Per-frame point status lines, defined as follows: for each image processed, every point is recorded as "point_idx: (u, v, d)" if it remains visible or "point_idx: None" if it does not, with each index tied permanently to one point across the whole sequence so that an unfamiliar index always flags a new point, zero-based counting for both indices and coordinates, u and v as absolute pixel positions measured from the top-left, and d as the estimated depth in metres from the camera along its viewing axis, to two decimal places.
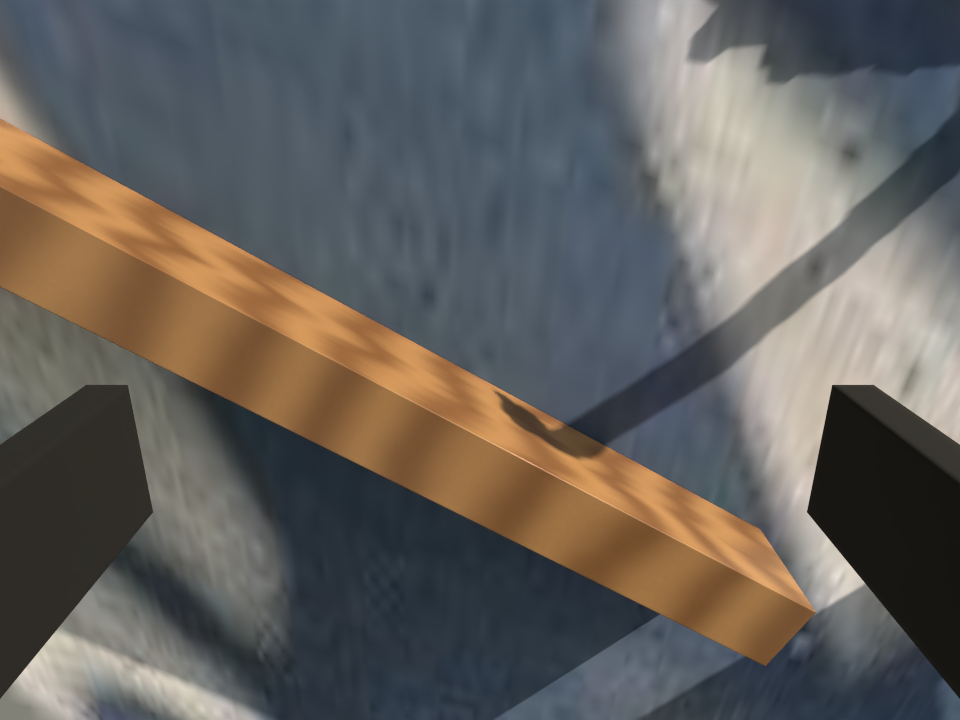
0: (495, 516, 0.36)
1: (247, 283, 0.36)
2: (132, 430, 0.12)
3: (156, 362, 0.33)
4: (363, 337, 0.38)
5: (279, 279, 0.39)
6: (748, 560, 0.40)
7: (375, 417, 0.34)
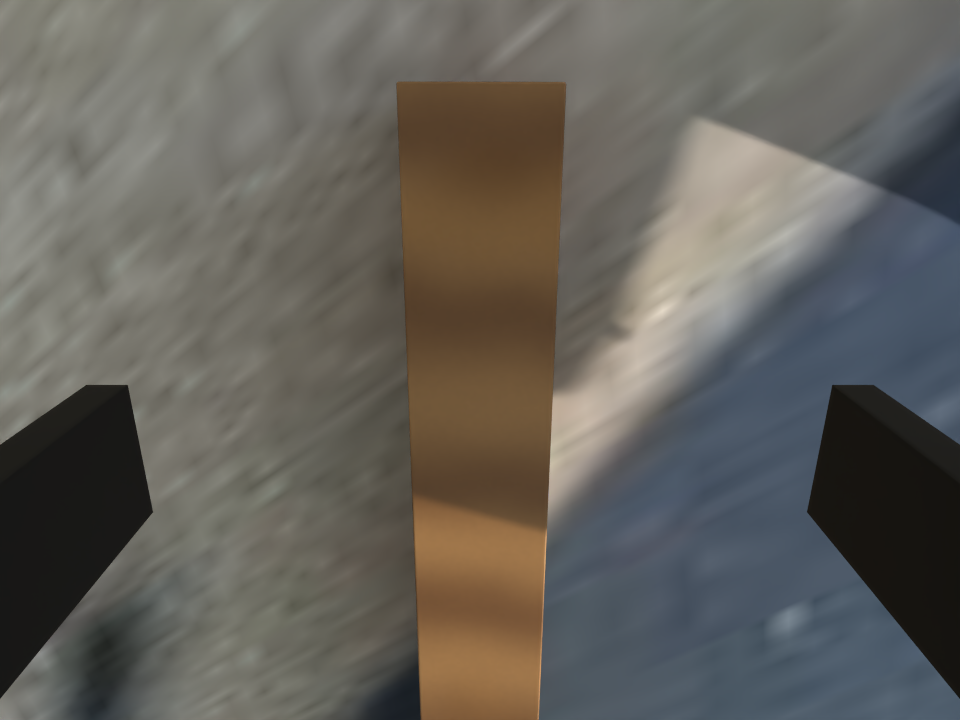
0: None
1: None
2: (131, 430, 0.12)
3: None
4: None
5: None
6: None
7: None
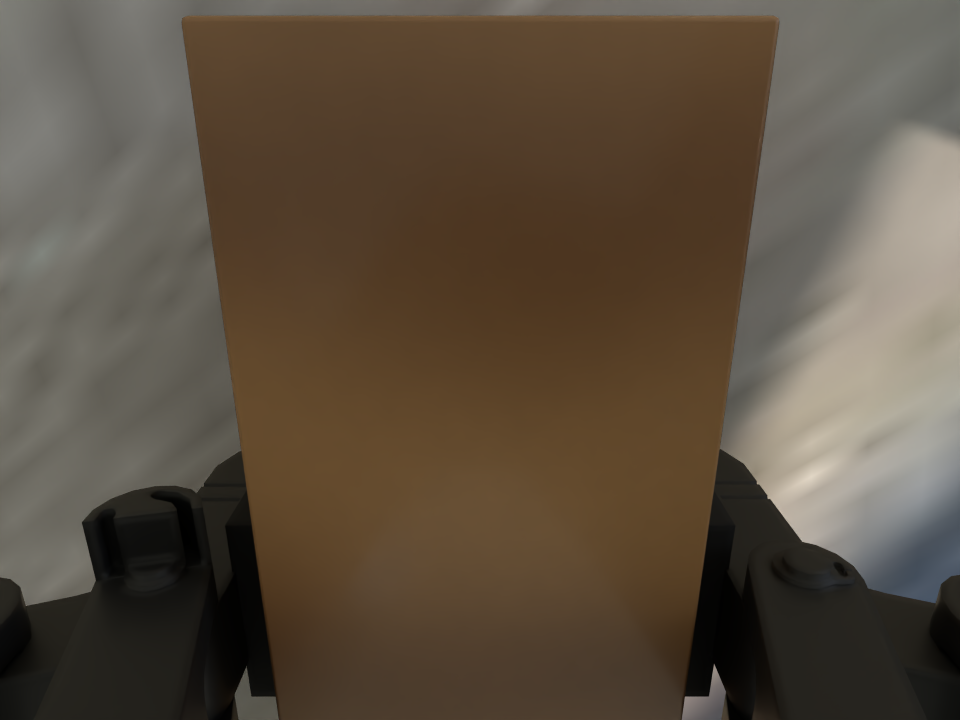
0: None
1: None
2: None
3: None
4: None
5: None
6: None
7: None
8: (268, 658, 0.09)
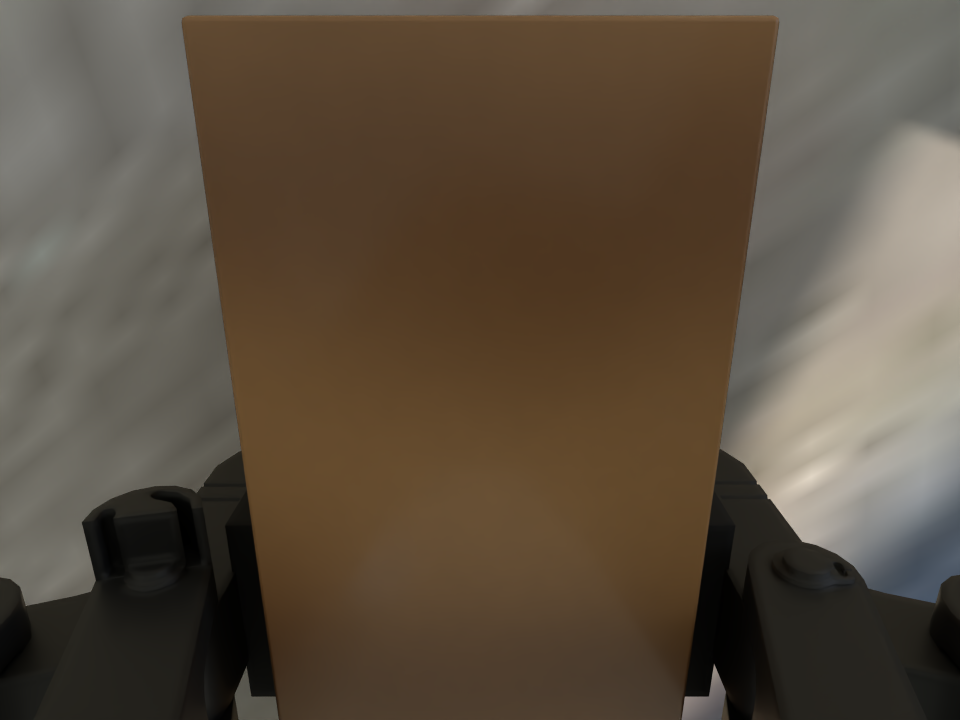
0: None
1: None
2: None
3: None
4: None
5: None
6: None
7: None
8: (268, 658, 0.09)
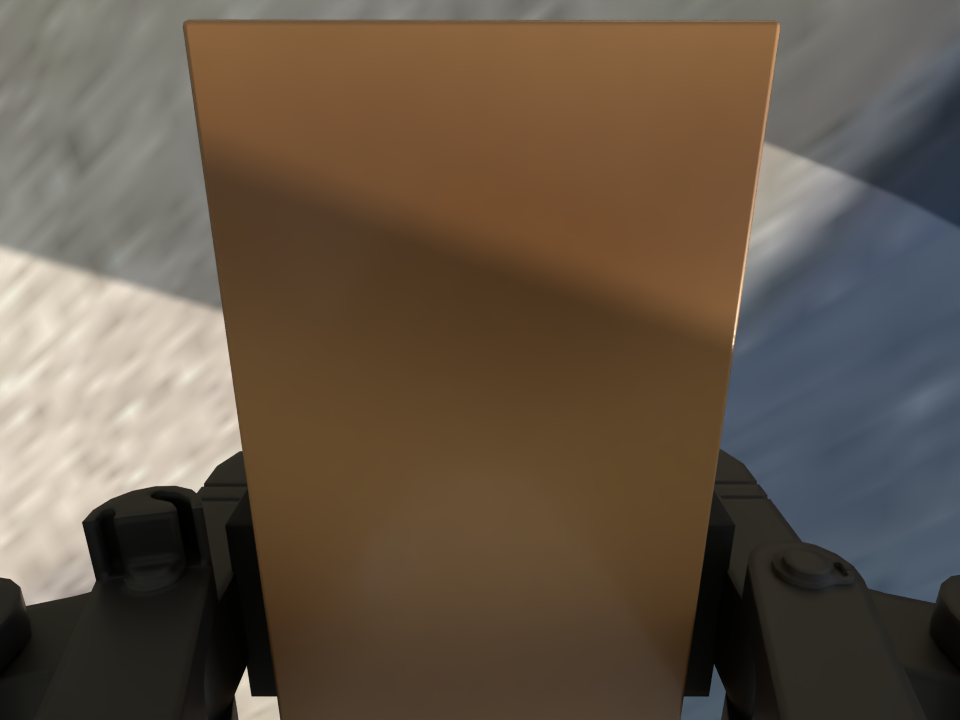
0: None
1: None
2: None
3: None
4: None
5: None
6: None
7: None
8: (268, 658, 0.09)
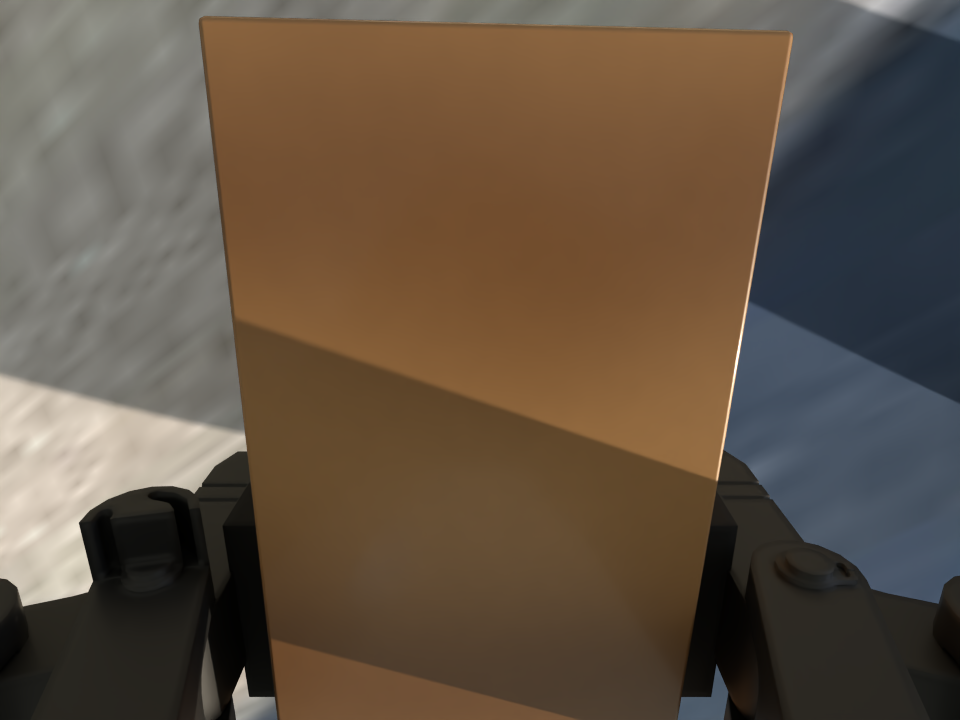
0: None
1: None
2: None
3: None
4: None
5: None
6: None
7: None
8: (266, 658, 0.09)
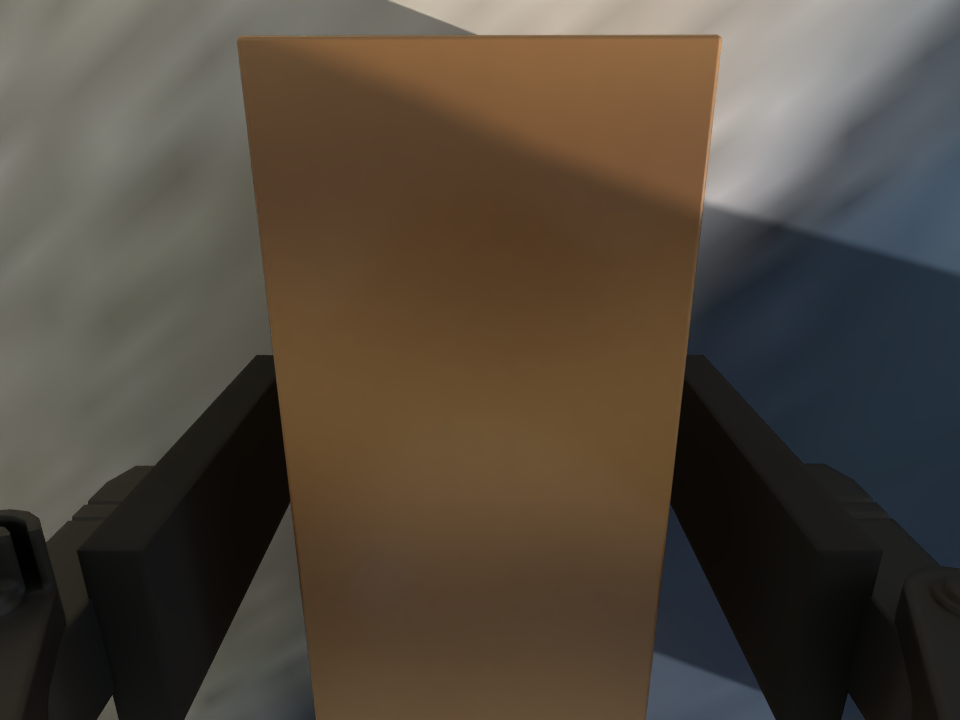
0: None
1: None
2: None
3: None
4: None
5: None
6: None
7: None
8: (134, 689, 0.08)
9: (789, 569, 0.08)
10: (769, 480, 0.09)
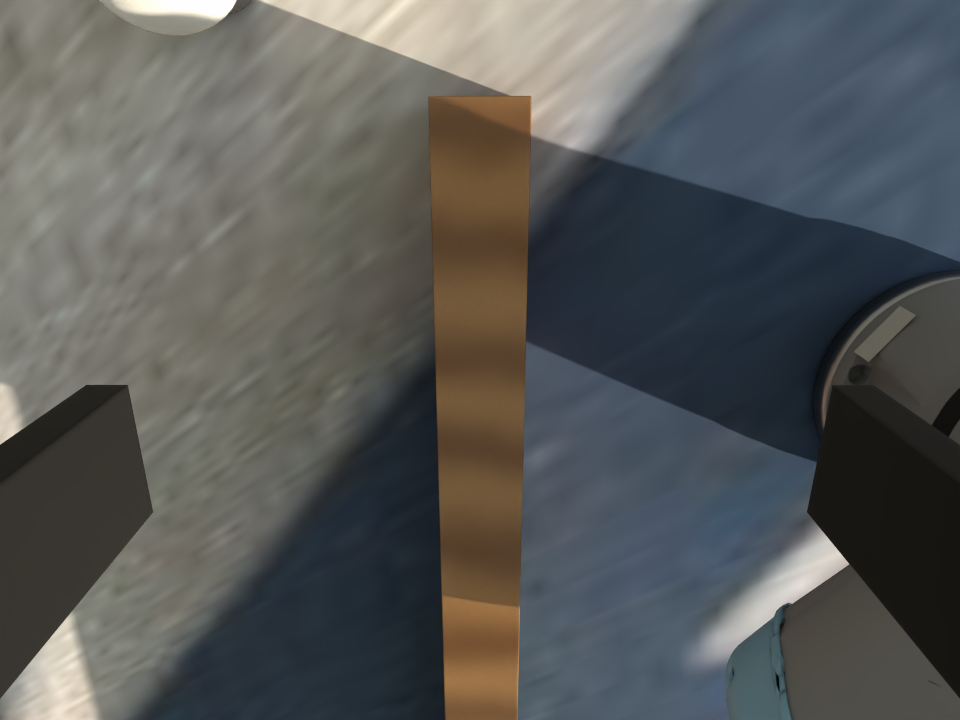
0: None
1: None
2: (131, 430, 0.12)
3: (445, 668, 0.42)
4: None
5: None
6: None
7: None
8: None
9: None
10: None
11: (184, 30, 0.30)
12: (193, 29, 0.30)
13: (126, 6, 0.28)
